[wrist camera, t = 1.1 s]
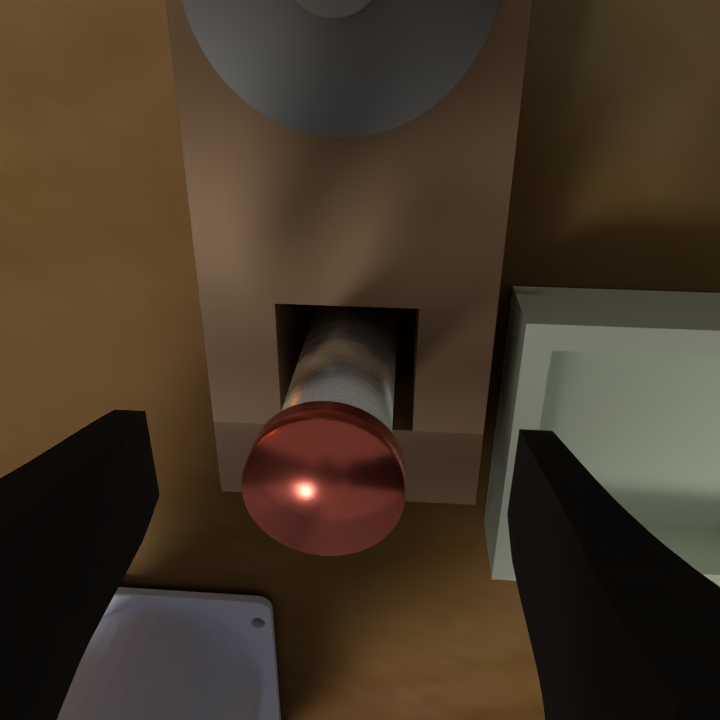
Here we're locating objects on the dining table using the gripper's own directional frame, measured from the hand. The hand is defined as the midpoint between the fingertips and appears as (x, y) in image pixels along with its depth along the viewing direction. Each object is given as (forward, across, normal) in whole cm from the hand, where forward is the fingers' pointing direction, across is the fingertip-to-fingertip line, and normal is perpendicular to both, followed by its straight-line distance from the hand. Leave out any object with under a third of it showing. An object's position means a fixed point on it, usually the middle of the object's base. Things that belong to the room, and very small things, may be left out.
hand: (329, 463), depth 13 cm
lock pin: (+7, 0, 0) cm, 7 cm away
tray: (+7, -8, +3) cm, 11 cm away
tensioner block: (+7, 0, -4) cm, 8 cm away
